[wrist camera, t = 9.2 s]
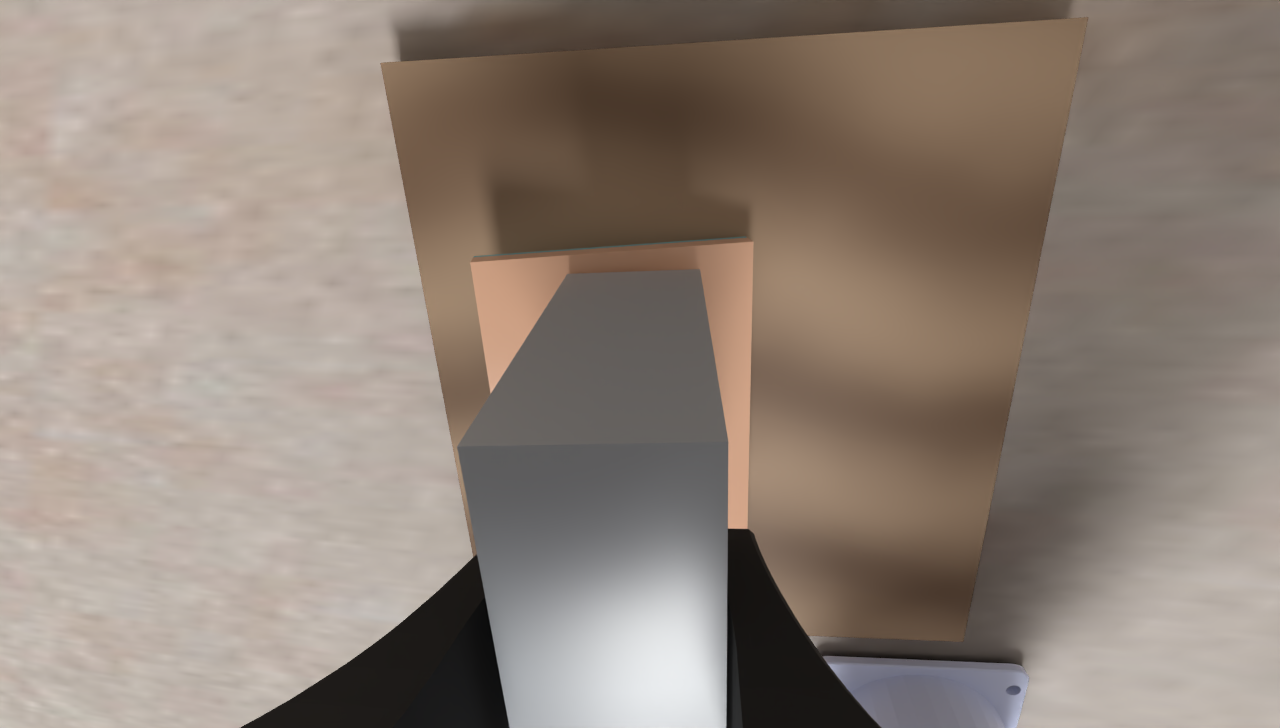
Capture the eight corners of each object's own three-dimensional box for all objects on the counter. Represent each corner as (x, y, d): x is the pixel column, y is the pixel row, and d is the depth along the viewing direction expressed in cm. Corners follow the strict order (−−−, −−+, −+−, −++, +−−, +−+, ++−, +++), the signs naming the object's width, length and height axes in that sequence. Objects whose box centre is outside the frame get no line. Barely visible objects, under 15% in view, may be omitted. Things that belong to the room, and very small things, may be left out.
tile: (517, 568, 20) (519, 551, 21) (747, 540, 21) (740, 525, 21) (470, 262, 16) (473, 255, 17) (753, 241, 17) (745, 236, 17)
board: (951, 616, 23) (963, 641, 22) (495, 600, 25) (485, 623, 24) (1061, 23, 16) (1087, 17, 15) (400, 65, 18) (380, 62, 17)
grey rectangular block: (703, 521, 19) (725, 839, 11) (591, 522, 19) (529, 834, 11) (700, 269, 16) (728, 441, 8) (567, 273, 16) (456, 446, 8)
